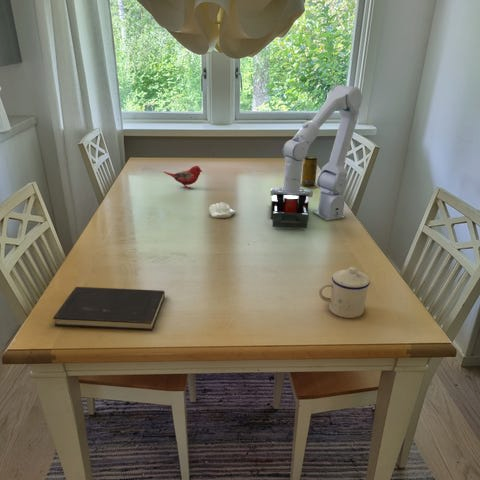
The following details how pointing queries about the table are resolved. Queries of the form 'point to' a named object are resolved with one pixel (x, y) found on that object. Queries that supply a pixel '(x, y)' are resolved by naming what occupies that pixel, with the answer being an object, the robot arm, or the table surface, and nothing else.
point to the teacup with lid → (347, 293)
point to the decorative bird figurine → (187, 176)
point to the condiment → (309, 172)
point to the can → (290, 204)
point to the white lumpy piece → (221, 210)
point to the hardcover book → (111, 308)
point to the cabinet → (274, 200)
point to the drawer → (289, 218)
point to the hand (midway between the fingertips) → (289, 215)
